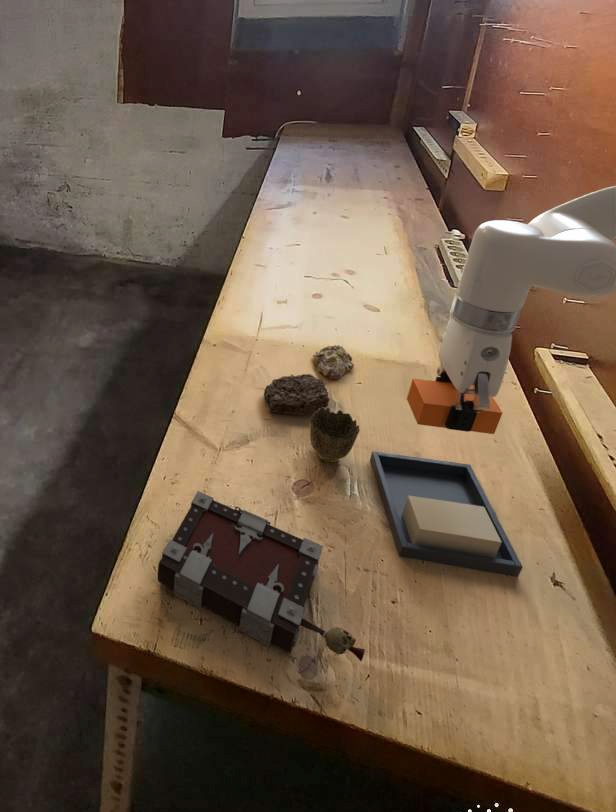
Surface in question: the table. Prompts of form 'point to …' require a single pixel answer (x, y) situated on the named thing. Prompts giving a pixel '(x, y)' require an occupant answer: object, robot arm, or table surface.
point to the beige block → (450, 526)
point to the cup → (332, 434)
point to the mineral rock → (333, 361)
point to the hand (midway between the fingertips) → (449, 412)
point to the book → (246, 573)
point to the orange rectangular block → (446, 405)
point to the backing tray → (437, 483)
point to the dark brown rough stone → (296, 394)
